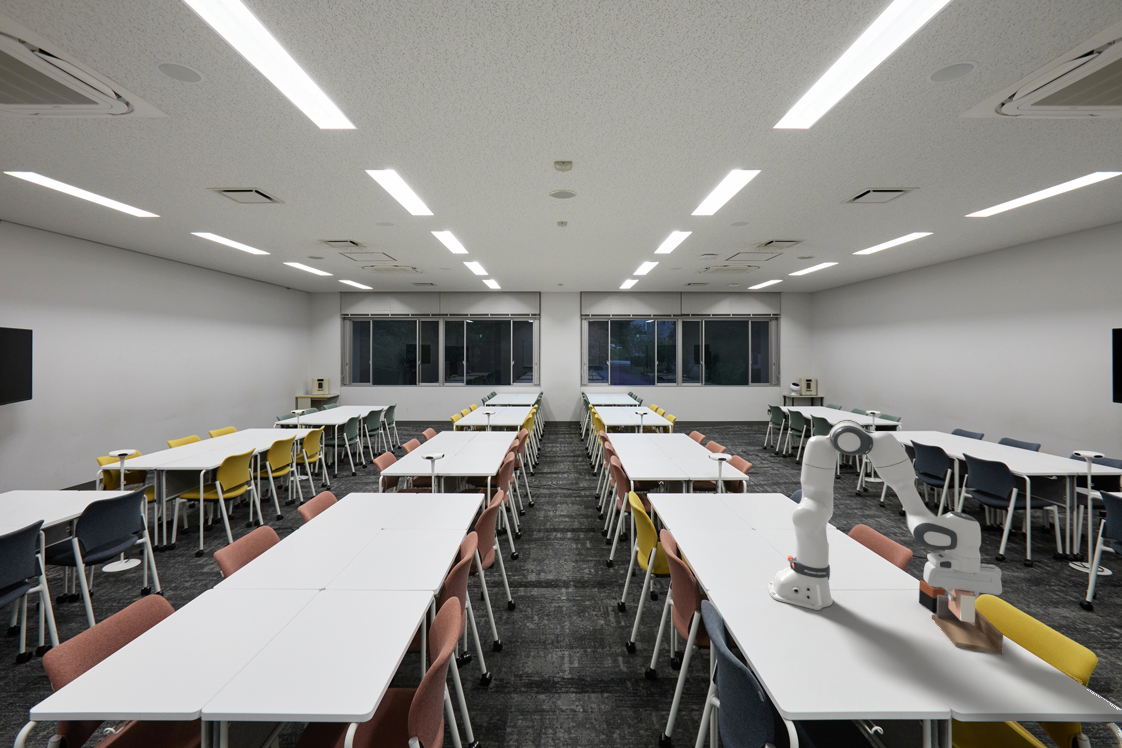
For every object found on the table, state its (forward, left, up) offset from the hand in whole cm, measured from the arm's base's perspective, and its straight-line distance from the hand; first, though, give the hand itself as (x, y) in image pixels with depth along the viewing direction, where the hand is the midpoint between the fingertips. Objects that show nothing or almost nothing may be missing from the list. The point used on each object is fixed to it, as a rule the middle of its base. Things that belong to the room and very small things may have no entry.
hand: (961, 601), depth 148 cm
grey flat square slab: (0, +7, -10) cm, 12 cm away
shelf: (+1, 0, -11) cm, 11 cm away
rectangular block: (0, 0, -5) cm, 5 cm away
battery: (-2, +16, -12) cm, 20 cm away
